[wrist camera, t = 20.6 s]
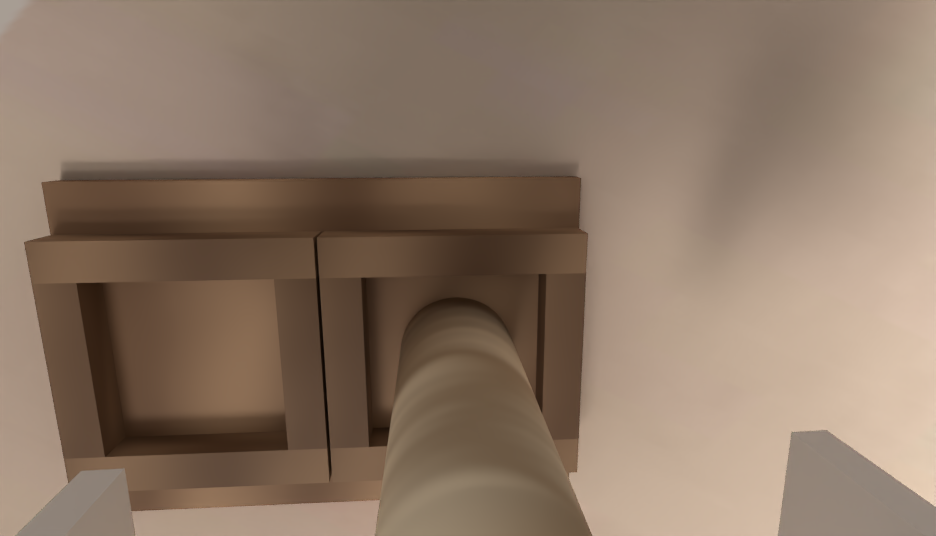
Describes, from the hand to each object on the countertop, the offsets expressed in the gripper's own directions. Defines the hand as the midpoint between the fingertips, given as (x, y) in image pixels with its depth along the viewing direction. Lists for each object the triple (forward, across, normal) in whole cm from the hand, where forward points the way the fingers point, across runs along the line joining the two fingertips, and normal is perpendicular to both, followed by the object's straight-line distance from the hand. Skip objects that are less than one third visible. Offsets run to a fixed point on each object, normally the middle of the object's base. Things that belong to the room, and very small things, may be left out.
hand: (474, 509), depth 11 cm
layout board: (+8, -4, 0) cm, 9 cm away
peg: (+7, 0, 0) cm, 8 cm away
